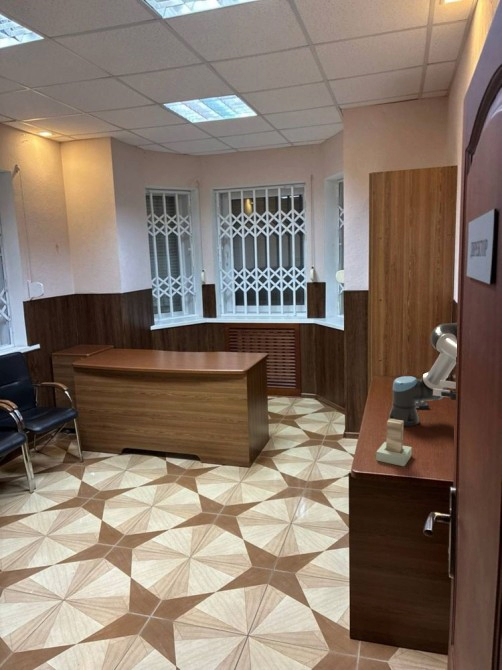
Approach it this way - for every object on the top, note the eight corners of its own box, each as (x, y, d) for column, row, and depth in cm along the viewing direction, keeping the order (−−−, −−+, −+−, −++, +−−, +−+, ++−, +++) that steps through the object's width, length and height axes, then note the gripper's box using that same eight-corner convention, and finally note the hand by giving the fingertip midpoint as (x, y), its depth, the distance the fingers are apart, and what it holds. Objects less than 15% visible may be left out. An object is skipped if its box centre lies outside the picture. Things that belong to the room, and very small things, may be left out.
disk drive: (429, 410, 265) (420, 401, 280) (429, 405, 265) (420, 396, 279) (411, 410, 265) (402, 401, 280) (411, 405, 265) (403, 397, 279)
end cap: (384, 450, 214) (384, 441, 213) (411, 455, 207) (411, 447, 207) (376, 460, 204) (376, 451, 203) (404, 466, 197) (404, 457, 197)
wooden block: (388, 452, 209) (389, 418, 206) (402, 455, 205) (403, 420, 202) (385, 456, 205) (386, 421, 202) (399, 459, 202) (401, 423, 199)
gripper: (488, 413, 178) (429, 404, 189) (495, 395, 198) (442, 388, 209) (489, 394, 176) (430, 386, 187) (496, 378, 197) (442, 372, 208)
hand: (436, 387), depth 198 cm, fingers open, 13 cm apart
